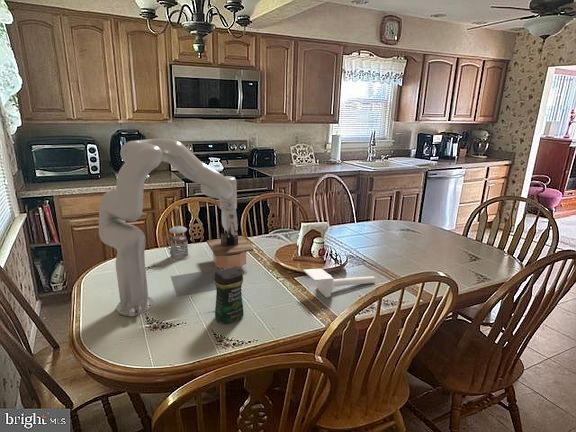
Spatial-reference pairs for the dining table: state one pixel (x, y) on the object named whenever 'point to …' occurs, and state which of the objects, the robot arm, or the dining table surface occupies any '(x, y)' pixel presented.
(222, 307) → the coffee jar
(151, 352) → the dining table surface
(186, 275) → the mat
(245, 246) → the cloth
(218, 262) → the bowl
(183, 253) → the lantern
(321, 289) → the white mallet
